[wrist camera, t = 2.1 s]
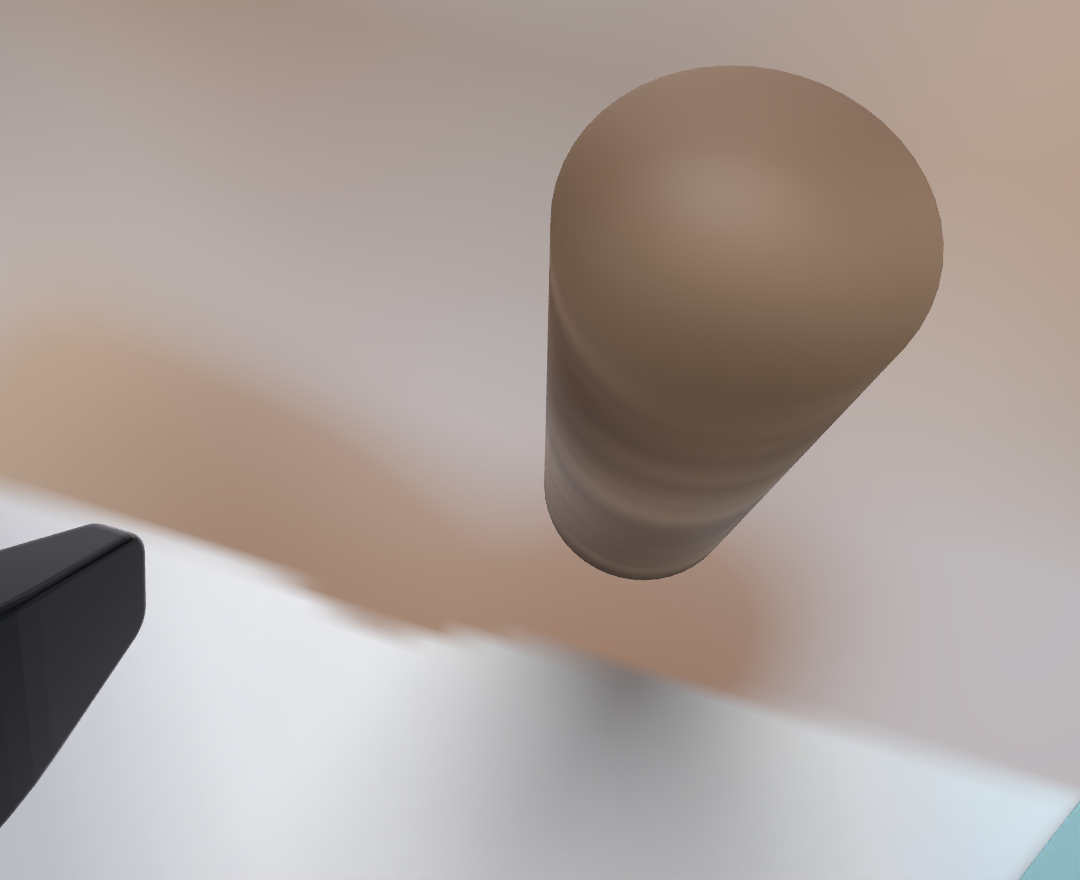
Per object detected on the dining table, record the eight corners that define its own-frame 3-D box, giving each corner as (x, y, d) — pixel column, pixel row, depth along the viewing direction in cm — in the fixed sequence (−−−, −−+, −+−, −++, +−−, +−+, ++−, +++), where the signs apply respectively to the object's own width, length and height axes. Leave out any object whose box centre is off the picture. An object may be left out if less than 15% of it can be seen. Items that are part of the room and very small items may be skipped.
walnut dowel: (762, 549, 20) (1010, 346, 9) (575, 603, 19) (618, 453, 9) (698, 375, 21) (852, 31, 11) (522, 423, 21) (506, 112, 10)
